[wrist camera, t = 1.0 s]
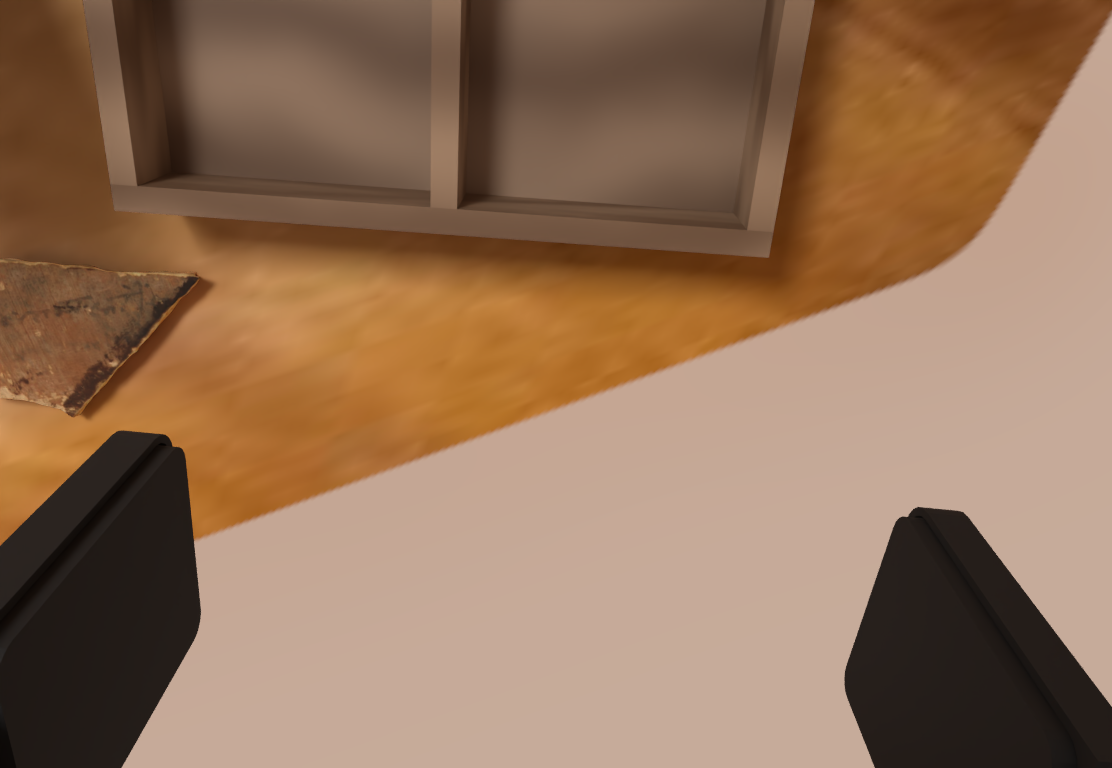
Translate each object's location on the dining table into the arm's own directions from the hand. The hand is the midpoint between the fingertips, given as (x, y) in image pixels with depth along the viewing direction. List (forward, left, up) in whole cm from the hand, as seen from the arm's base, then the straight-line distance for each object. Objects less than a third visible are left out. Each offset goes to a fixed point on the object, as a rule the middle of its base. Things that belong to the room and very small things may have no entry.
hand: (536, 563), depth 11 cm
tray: (-5, -4, -27) cm, 27 cm away
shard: (+7, -22, -27) cm, 36 cm away
